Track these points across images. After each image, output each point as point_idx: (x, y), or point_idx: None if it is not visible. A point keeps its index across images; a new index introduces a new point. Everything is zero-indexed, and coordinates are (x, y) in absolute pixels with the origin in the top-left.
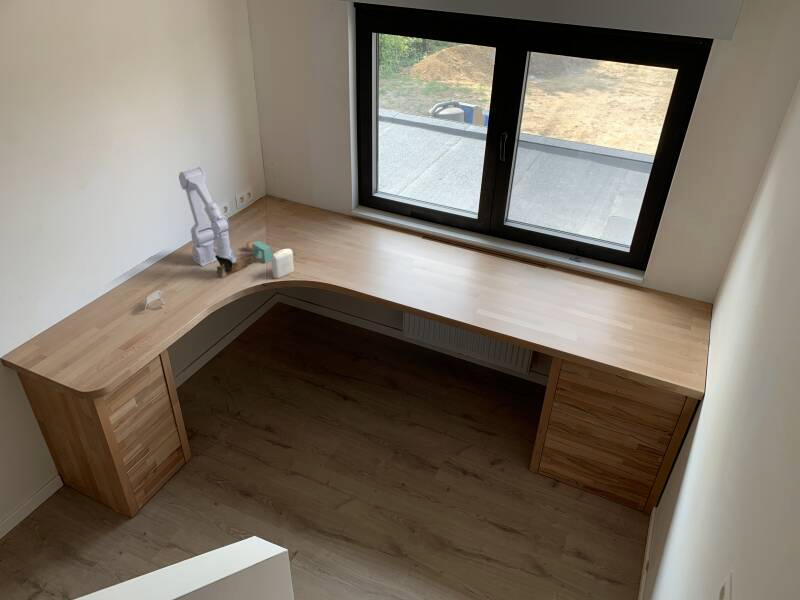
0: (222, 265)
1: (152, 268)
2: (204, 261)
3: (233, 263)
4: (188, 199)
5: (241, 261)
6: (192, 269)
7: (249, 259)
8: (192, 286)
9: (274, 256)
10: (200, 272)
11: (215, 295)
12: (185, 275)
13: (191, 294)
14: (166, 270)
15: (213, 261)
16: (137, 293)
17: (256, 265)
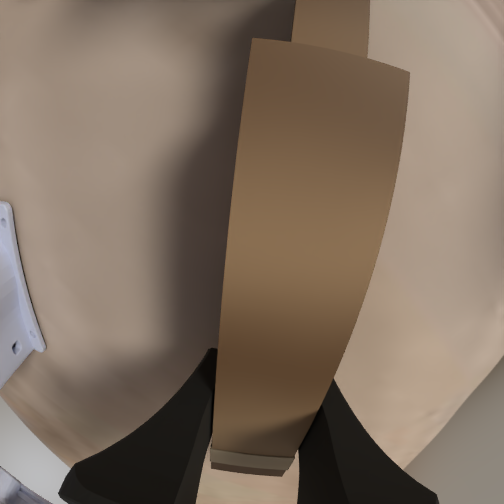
0: (224, 442)
1: (13, 409)
2: (16, 334)
3: (310, 358)
4: None
5: (387, 206)
6: (57, 387)
7: (363, 3)
8: (214, 476)
9: None
10: (105, 399)
11: None
12: (98, 431)
13: (267, 494)
14: (34, 413)
15: (20, 267)
16: None
17: (409, 18)
